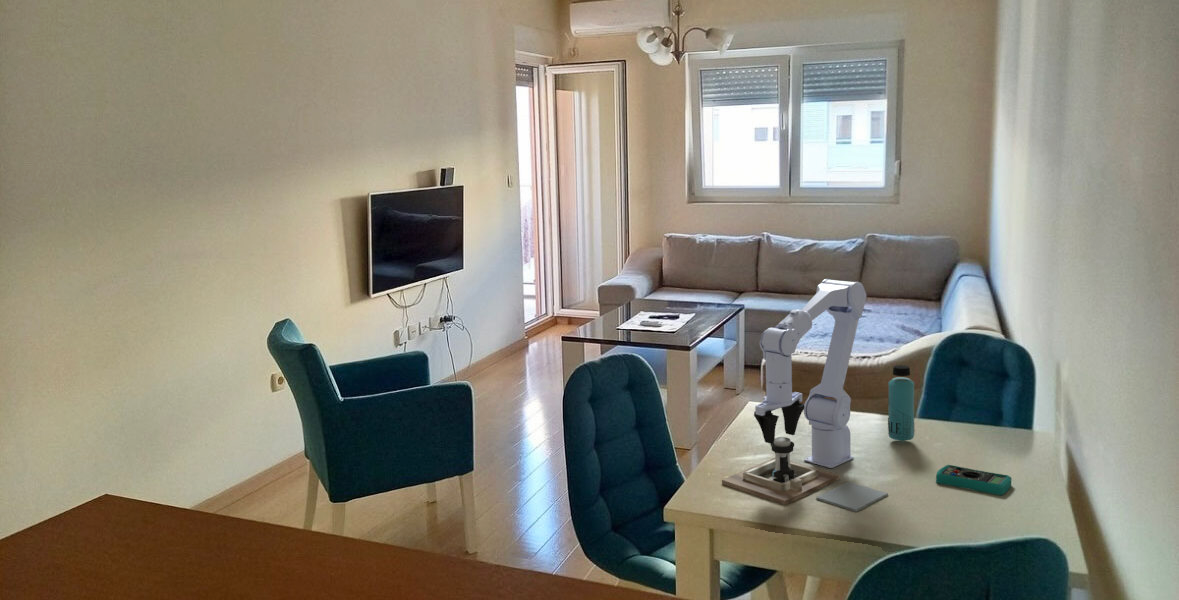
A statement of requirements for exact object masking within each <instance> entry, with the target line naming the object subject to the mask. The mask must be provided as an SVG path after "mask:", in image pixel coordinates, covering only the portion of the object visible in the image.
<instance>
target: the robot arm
mask: <svg viewBox="0 0 1179 600" xmlns="http://www.w3.org/2000/svg"><path fill="white" fill-rule="evenodd" d="M866 300H867V292H866V290H865V286H864V285H863V284H862V282H860V281H846V280H837V279H829V278H825V279H823V280H822V281H821V282H820V283H819V284H817V286H816V293H815V294H814V295H813V297H811V298H810V300H809V301H808V302H807V303H806V304H805V305H804V306H803V307H802V309H799V308H797V309H792V310H790V312H789V314H788V315H787V316H785V318H783V319H782V320H780V322H778V324H777V325H775V326H774V327H768V328H767V329H765V330H764V331H763V332H762V334H761V336H760V341H759V342H758V343H759V347H760V349H761V352H762V355H763V359H764V361H765V388H766V389H765V390H766V391H765V393H766V395H765V396H763V397H762V399H763V401H761V402H759V404H756V405H755V410H754V413H753V417H754V418H755V420H756V422H757V423H758V425H759V427H760V429H761V432H762V437H763V441H764V443H767V444H770V445H771V444H773V443H774V440H775V438H776V437H775V436H776V426H777V422H778V420H779V418H780V416H779V415H776V414H774V413H773V411H776V410H778V409H781V411H782V415H783V422H784V432H785V434H787V435H790V436H795V435H796V430H797V428H798V424H799V419H800V417H801V415H802V412H803V415H804V418H805V419H806V420H807V421H808V425H810V426H811V455H810V456H808V457H806V458H804V462H807V463H811V464H815V465H818V466H821V467H825V468H828V469H833V468H835V467H837V466H840V465H842V464H844V463H847V462H848V461H850V460H853V459H854V455H851V431H850V428H849V426H848V425H847V424H848V422H849V420H850V418H851V403H852V398H851V397H850V396H849V394H848V393H847V392H846V391H845V389H844V385H845V381H846V377H847V371H848V369H849V368H848V367H849V364H850V358H851V354H852V350H853V347H854V341H855V337H856V334H857V329H858V325H859V321H860V319H861V318H862V316H863V314H864V308H865V304H866ZM826 311H827V313H828V314H829V315H831V316H832V317H833V319H834V326H833V330H832V335H831V338H830V343H829V347H828V351H827V355H826V359H825V363H824V368H823V372H822V377H821V381H820V383H819V384H818V385H816V386H814V387H812V388H811V389H810V391H809V395H808V397H807V399H806V400H805V402H804V403H801V402H803V393H801V392H797V391H794V392H793V379H792V378H793V376H792V375H793V371H792V370H793V368H792V366H793V364H792V355H793V354H794V353H795V352H796V349H797V348H798V347H797V346H798V344H799V343H800V341H801V339H802V337H804V336H805V335H806V334H807V333H808V332H809V331H810V330H811V329H812V328H813V321H814V320H815V319H816V318H818V317H819V316H820V315H822V314H823V313H824V312H826ZM830 398H832V399H830Z"/></svg>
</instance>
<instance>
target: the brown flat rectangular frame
mask: <svg viewBox="0 0 1179 600" xmlns="http://www.w3.org/2000/svg"><path fill="white" fill-rule="evenodd" d="M790 466H791V467H790V468H791V469H793V470H794V476H796V477H794V479H792V480H790V481H788V482H786V483H785V482H784V483H780V482H777V481H773V479H771V478H770V479H768V478H767V477H765V476H767V475H770V474H771V473H772V472H773V471H775V468H776V467H775V457H773V458H771V459H767V460H766V461H763V462H761V463H758V464H757V465H754V466H752V467H750V468H747V469H744V470H742V471H740V472H738V473H735V474H733V475H730V476H727V477H726V478H723V479H721V485H724V486H727V487H731V488H733V489H736V490H739V491H742V492H745V493H748V494H751V495H754V496H758V497H760V498H763V499H766V500H769V501H772V502H775V503H778V504H781V505H784V506H786V505H789V504H790V503H793V502H795V501H797V500H799V499H801V498H803V497H805V496H807V495H809V494H811V493H813V492H816V491H818V490H820V489H822V488H825V487H826V486H828V485H831V484H833V483H835V482H837V481H840V480H841V479H840V474H837V473H833V472H831V471H826V470H823V469H819V468H816V467H813V466H808V465H805V464H802V463H799V462H795V461H791V460H790Z"/></svg>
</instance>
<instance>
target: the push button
mask: <svg viewBox="0 0 1179 600" xmlns="http://www.w3.org/2000/svg"><path fill="white" fill-rule="evenodd" d="M770 447H771V451H772V452H773V453H774V454H775V455H774V456H775V457H774V458H775V467H776V468H775V471H773V472H772V476H771V477H768V478H767V479H770V480H773V481H777V482H780V483H786V482H788V481H790V480H792V479H794V478H795V475H794V470H793V469H791V468H790V467H791V466H790V461H791V457H790V456H791V455H790V454H791V453H792V452H793V451H794V447H795V443H794V441H791V439H790V438H789V437H785V436H780V437H775V440H774V443H773V444H770Z"/></svg>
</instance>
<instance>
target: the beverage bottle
mask: <svg viewBox="0 0 1179 600" xmlns="http://www.w3.org/2000/svg"><path fill="white" fill-rule="evenodd" d="M910 369H911V368H910V366H909V365H907V364H896V365H893V367H892V375H893V376H896V377H893V378H892V379H891V380H889V381H888V395H887V400H888V402H887V403H888V404H887V406H888V415H887V416H888V417H887V429H888V437H889V438H890V439H892V440H894V441H904V442H905V441H911V440H913V439H914V438H915V435H916V433H915V431H916V429H915V428H916V426H915V425H916V422H915V421H916V420H915V418H916V416H915V414H916V413H915V381H913V380H912V379H910V377H909V376H910V375H911V370H910ZM908 377H909V378H908Z"/></svg>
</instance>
